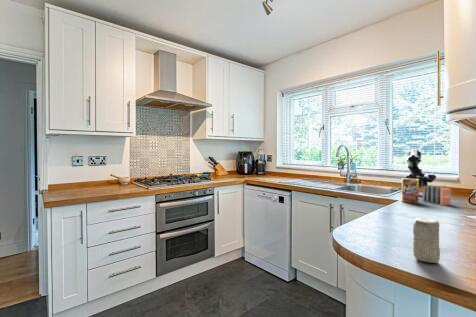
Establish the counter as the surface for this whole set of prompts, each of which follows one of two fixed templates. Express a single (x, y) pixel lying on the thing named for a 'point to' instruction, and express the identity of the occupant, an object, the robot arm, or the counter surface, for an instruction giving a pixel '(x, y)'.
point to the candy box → (410, 190)
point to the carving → (426, 240)
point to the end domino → (445, 197)
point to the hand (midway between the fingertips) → (426, 188)
